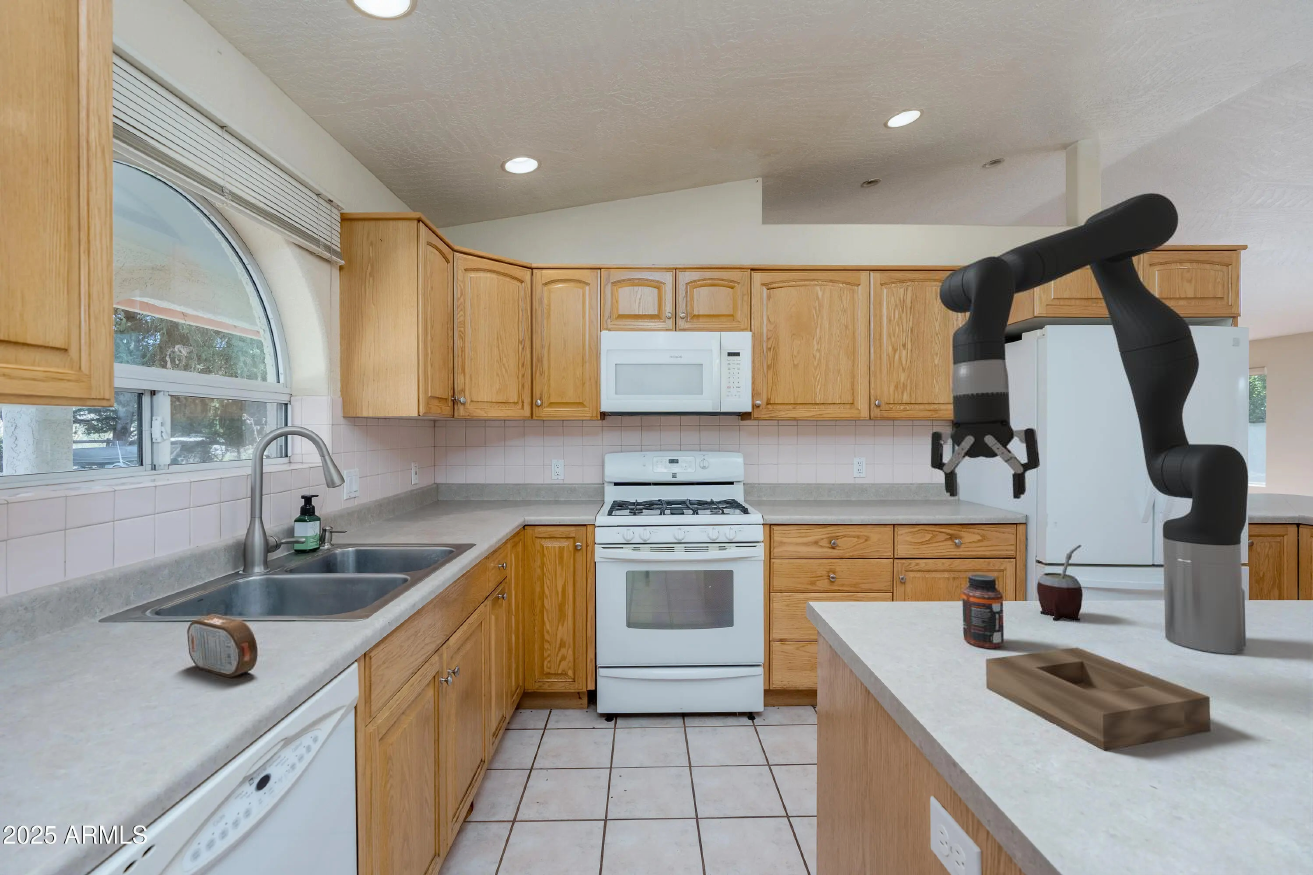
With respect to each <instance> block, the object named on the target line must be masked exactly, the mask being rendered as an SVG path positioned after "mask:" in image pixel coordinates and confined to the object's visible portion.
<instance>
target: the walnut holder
mask: <svg viewBox="0 0 1313 875" xmlns="http://www.w3.org/2000/svg"><path fill="white" fill-rule="evenodd" d="M985 672H986V673H985V674H986V675H985V676H986V682H985V683H986V689H988V690H990V691H992V692H993V693H995V694H997V695H999V696H1001V697H1003V698H1005V699H1006V700H1009V701H1011V702H1013V703H1014V704H1016V705H1018V706H1020V707H1022V708H1023V709H1026V710H1027V711H1029V712H1031V713H1033V714H1035V715H1037V716H1038V717H1040V718H1042V719H1044V720H1046V721H1048V722H1050V723H1052V724H1053V725H1055V724H1056V726H1057V727H1059V728H1061V729H1063V730H1065V731H1067V733H1070V734H1072V735H1074V736H1076V737H1078V738H1080V739H1081V740H1083V741H1085V742H1087V743H1089V744H1091V745H1093V746H1095V747H1097V748H1098V749H1100V750H1102V751H1107V750H1112V749H1119V748H1124V747H1128V746H1135V745H1141V744H1145V743H1151V742H1155V741H1161V740H1162V741H1163V740H1167V739H1173V738H1179V737H1183V736H1184V737H1185V736H1189V735H1195V734H1201V733H1205V732H1211V700H1210V696H1208V695H1206V694H1203V693H1200V692H1198V691H1196V690H1192V689H1190V688H1187V687H1183V686H1181V685H1179V684H1176V683H1174V682H1171V681H1169V680H1165V679H1163V678H1161V677H1158V676H1155V675H1153V674H1150V673H1147V672H1144V671H1142V670H1139V669H1136V668H1134V667H1131V666H1128V665H1125V664H1123V663H1121V662H1117V661H1115V660H1113V659H1109V658H1107V657H1103V656H1101V655H1099V654H1095V653H1093V652H1091V651H1087V650H1085V649H1082V648H1080V647H1070V648H1064V649H1063V648H1062V649H1055V650H1048V651H1047V650H1046V651H1040V652H1032V653H1025V654H1024V653H1022V654H1015V655H1008V656H999V657H992V658H986V659H985Z"/></svg>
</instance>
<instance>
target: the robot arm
mask: <svg viewBox="0 0 1313 875" xmlns="http://www.w3.org/2000/svg"><path fill="white" fill-rule="evenodd" d="M1178 224H1179V214H1178V210H1177V208H1176V206H1175V204H1174V203H1173V201H1172V200H1170V198H1168V197H1167V196H1165V195H1163V194H1159V193H1153V192H1152V193H1142V194H1138V195H1135V196H1133V197H1129V198H1127V199H1125V200H1123V201H1122V202H1118V203H1117V204H1115V205H1113V206H1110V207H1107V208H1105V209H1103V210H1101V211H1099V212H1096V213H1095V214H1093V215H1090V216H1089V217H1088V218H1087V219H1086V220H1085V222H1084V224H1082V225H1079V226H1076V227H1073V228H1069V229H1066V230H1064V231H1061V232H1058V233H1054V234H1050V235H1048V236H1045V237H1041V238H1039V239H1036V240H1033V241H1030V242H1027V243H1025V244H1022V245H1019V246H1016V247H1014V248H1012V249H1009V250H1007V251H1005V252H1003V253H1002V254H1000V255H997V256H987V257H983V258H980V259H978V260H976V261H974V262H972V263H969V264H967V265H965V266H964V265H963V267H960V268H958V269H956V270H954V271H952V272H950V273H949V274H948V275H947V276H946V277H945V278H944V279H943V280H942V283H941V285H940V287H939V291H938V292H939V293H938V295H939V300H940V302H941V304H942V305H943V306H944V308H946V310H948V311H950V312H953V313H956V314H967V313H969V315H968V318H967V320H966V322H964V324H962V325H961V326H960V327H958V328H957V329H956V330H955V331H954V332H953V335H952V341H951V342H952V343H951V345H952V347H951V348H952V376H951V395H952V418H953V419H952V420H953V429H952V431H951V432H946V431H945V432H942V431H933V432H932V433H931V438H930V439H931V441H930V444H931V445H930V446H931V448H930V467H931V468H932V469H934V470H938V471H941V472H942V473H943V474H944V475H943V476H944V491H945V493H946V494H949V497H951V498H955V497H957V496H958V493H959V492H958V474H957V472H956V469H957V468H958V467H959V466H960V464H961V463H962V462H964V460H965V458H966V457H967V458H969V459H978V458H985V459H994V458H997V457H1000V459H1001V461H1003V462H1004V463H1005V464H1007V465H1008V466H1009V468H1011V469H1012V471H1013V473H1012V477H1011V478H1012V496H1013V497H1012V498H1013V499H1015V500H1016V499H1017V500H1020V499H1021V497H1022V496H1024V495H1025V493H1026V491H1027V489H1026V488H1027V486H1026V484H1027V482H1026V473H1027V472H1029V471H1031V470H1035V469H1037V468H1039V467H1040V466H1041V464H1040V463H1041V462H1040V453H1039V445H1038V436H1037V430H1036V429H1035V428H1033V427H1028V428H1026V429H1015V430H1014V429H1013V427H1012V425H1011V409H1010V408H1011V407H1010V387H1009V386H1010V385H1009V383H1010V382H1009V372H1008V366H1007V362H1006V338H1005V334H1006V329H1007V327H1008V326H1007V325H1008V323H1009V320H1010V315H1011V310H1012V306H1013V303H1014V299H1015V295H1017V294H1019V293H1024V292H1027V291H1031V290H1033V289H1037V288H1038V287H1041V286H1043V285H1045V284H1049V283H1051V282H1053V281H1056V280H1058V279H1060V278H1063V277H1065V276H1067V275H1070V274H1071V273H1074V272H1076V271H1078V270H1081V269H1084V268H1086V267H1087V266H1089V268H1090V270H1091V272H1092V275H1093V278H1094V279H1095V281H1096V284H1097V287H1098V289H1099V291H1100V294H1101V296H1102V299H1103V301H1104V304H1105V307H1106V310H1107V313H1108V316H1109V318H1110V322H1111V325H1112V328H1113V332H1114V335H1115V339H1116V343H1117V347H1118V351H1119V355H1120V359H1121V363H1122V365H1123V369H1124V372H1125V375H1126V379H1127V380H1128V384H1129V387H1130V391H1131V393H1132V399H1133V402H1134V405H1135V406H1134V407H1135V410H1136V413H1137V414H1136V415H1137V419H1138V423H1139V428H1140V429H1139V430H1140V434H1141V435H1140V436H1141V441H1142V448H1143V454H1144V461H1145V467H1146V471H1147V475H1148V477H1149V480H1150V482H1151V483H1152V486H1153V487H1154V488H1155V489H1156V490H1157V491H1158V492H1159V493H1161V494H1162V495H1165V496H1168V497H1173V498H1179V499H1190V500H1191V507H1190V510H1189V512H1187V513H1186V514H1185V515H1183V516H1181V517H1176V518H1171V519H1168V520H1166V521H1164V523H1163V524H1162V554H1163V557H1162V558H1163V586H1164V587H1163V591H1164V592H1163V593H1164V594H1163V595H1164V596H1163V598H1164V631H1165V632H1164V635H1165V638H1166V639H1167V640H1168V641H1169V642H1172V643H1174V644H1176V645H1178V646H1182V647H1186V648H1191V649H1193V650H1194V649H1195V650H1200V651H1204V652H1209V653H1218V654H1239V653H1240V654H1241V653H1243V652H1244V648H1246V647H1247V640H1246V638H1247V637H1246V636H1247V634H1246V630H1247V629H1246V597H1245V592H1246V591H1245V589H1244V588H1243V576H1242V574H1243V573H1242V551H1241V549H1242V545H1241V543H1242V533H1243V530H1244V528H1245V526H1246V522H1247V510H1248V509H1247V508H1248V507H1247V506H1248V492H1249V472H1248V471H1249V470H1248V467H1247V466H1248V465H1247V463H1246V461H1245V458H1244V456H1243V455H1242V453H1241V452H1240V451H1239V450H1237V449H1236V448H1235V447H1233V446H1230V445H1225V444H1214V443H1213V444H1208V443H1207V444H1204V443H1202V444H1198V443H1195V444H1194V443H1192V444H1191V443H1190V442H1189V440H1188V437H1187V434H1186V430H1185V426H1184V420H1183V413H1184V408H1185V407H1184V406H1185V403H1186V401H1187V399H1188V396H1189V394H1190V392H1191V391H1192V387H1193V386H1194V383H1195V381H1196V378H1197V375H1198V372H1199V368H1200V366H1199V365H1200V359H1199V353H1198V351H1197V348H1196V344H1195V341H1194V337H1193V333H1192V330H1191V327H1190V325H1189V323H1187V321H1186V320H1185V319H1184V317H1182V316H1181V315H1180V314H1179V313H1178V312H1177V311H1175V310H1174V309H1173V308H1172V307H1170V306H1169V305H1168V304H1166V303H1165V302H1164V301H1162V300H1161V299H1159V298H1158V297H1157V296H1156V295H1155V294H1153V293H1152V292H1151V291H1150V290H1149V289H1148V288H1147V286H1145V285H1144V283H1143V281H1142V280H1141V278H1140V276H1139V273H1138V271H1137V269H1136V265H1135V263H1134V260H1133V258H1135V257H1137V256H1141V255H1144V254H1146V253H1149V252H1152V251H1154V250H1156V249H1158V248H1160V247H1162V246H1163V245H1164V244H1166V243H1167V242H1169V240H1171V238H1173V236H1174V234H1175V233H1176V232H1177V228H1178ZM1014 438H1016V439H1018V441H1019V442H1020V444H1025V452H1026V460H1027V462H1021V460H1019V459H1018V458H1017V456H1016V455H1015V454H1014V453H1013V451H1012V450H1011V449H1010V448H1009V447H1008V446H1009V445H1010V443H1011V442H1012V441H1013V440H1014ZM950 439H951V441H952V442H953V443H954V445H955V446H956V447H957V449H956V450H955V451H954V452H953V454H952V455H951V456H950V458H949V460H948V461H947V462H945V461H944V446H945V445H947V444H948V442H949V440H950Z"/></svg>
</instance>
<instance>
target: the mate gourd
mask: <svg viewBox="0 0 1313 875" xmlns="http://www.w3.org/2000/svg"><path fill="white" fill-rule="evenodd" d="M1081 547H1082V545H1081V544H1078V545H1076V546H1075V547H1073V548H1072V549H1070V551H1069V552H1068V553H1066V555H1065V561H1064V565H1063V569H1062V572H1061V573H1060V572H1045V573H1044V572H1043V574H1041V575H1040V576H1039V578H1038V579H1037V583H1036V592H1037V596H1038V603H1039V606H1040V607H1041V610H1040V611H1039V612H1040V614H1041V615H1043V616H1048V615H1050V616H1049V617H1052V621H1055V622H1059V621H1060V620H1062V619H1064V618H1065V619H1064V620H1069V621H1074V620H1075V621H1076V622H1080V621H1081V617H1079V616H1080V613H1081V610H1082V605H1083V604H1082V603H1083V595H1084V594H1083V588H1082V585H1081V583H1080V581H1079V580H1078V579H1077V578H1076V577H1075V576H1073V575H1071V574H1067V570H1068V566H1069V563H1070V560H1071V559H1072V557H1073V554H1074V553H1075V552H1076V551H1077V550H1078V549H1080V548H1081ZM1053 616H1054V617H1053ZM1061 618H1062V619H1061ZM1075 621H1074V622H1075Z"/></svg>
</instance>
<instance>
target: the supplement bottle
mask: <svg viewBox="0 0 1313 875" xmlns="http://www.w3.org/2000/svg"><path fill="white" fill-rule="evenodd" d="M967 582H968V585H967V586H965V587H963V590H962V632H963V640H964V641H965V642H967V644H970V645H972V646H975V647H978V648H984V649H985V648H986V649H998V648H1001V647H1003V645H1004V641H1005V640H1004V639H1005V638H1004V635H1005V634H1004V633H1005V632H1004V631H1005V630H1004V602H1003V601H1004V600H1003V599H1004V598H1003V593H1002V592H1001V591H1000V590H998V588H997V584H996V583H997V581H996V577H994V576H991V575H988V574H980V573H979V574H978V573H976V574H975V573H973V574H972V573H971V574H969V575H968V581H967Z"/></svg>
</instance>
